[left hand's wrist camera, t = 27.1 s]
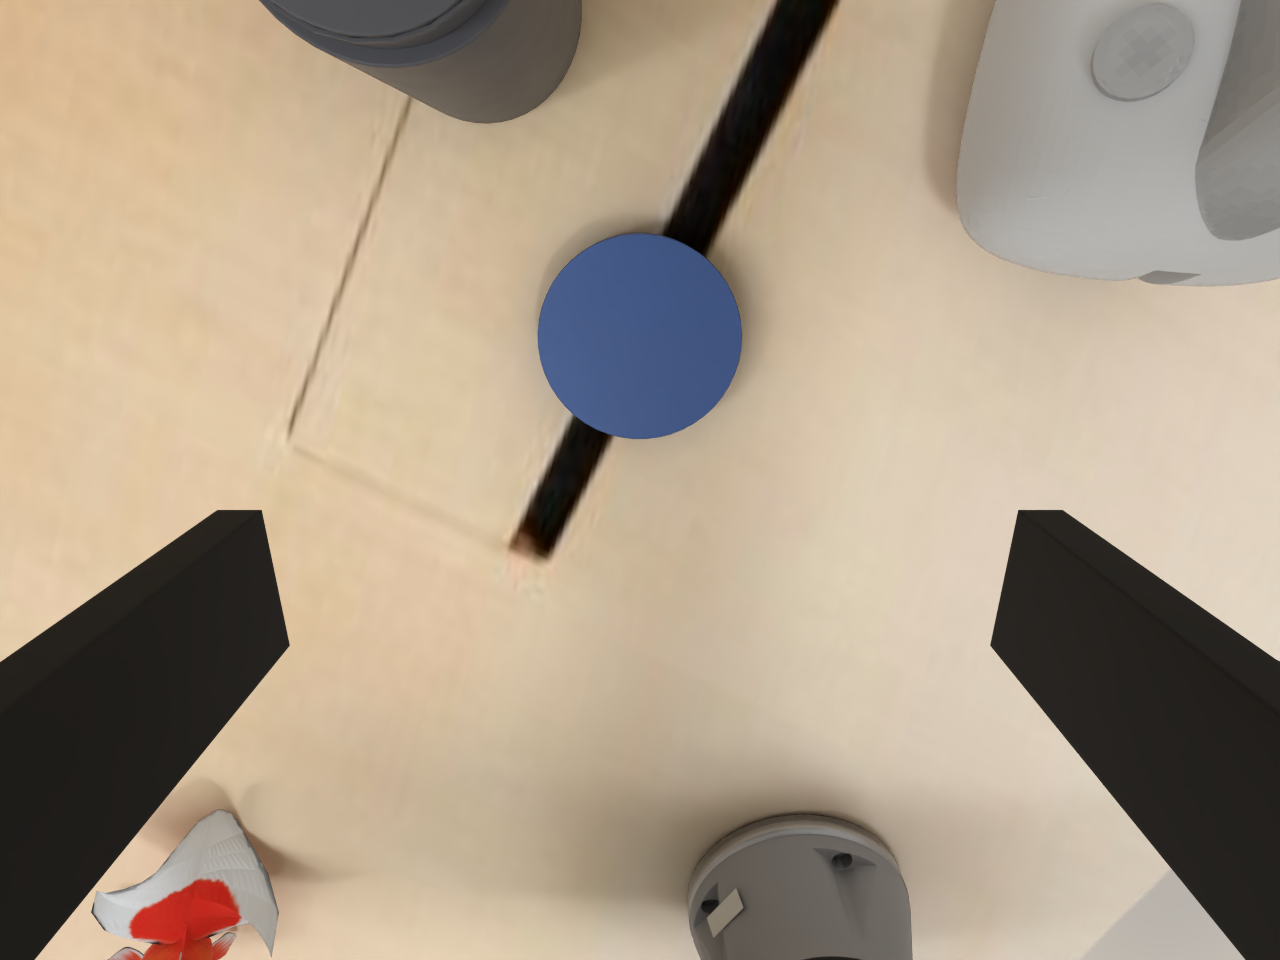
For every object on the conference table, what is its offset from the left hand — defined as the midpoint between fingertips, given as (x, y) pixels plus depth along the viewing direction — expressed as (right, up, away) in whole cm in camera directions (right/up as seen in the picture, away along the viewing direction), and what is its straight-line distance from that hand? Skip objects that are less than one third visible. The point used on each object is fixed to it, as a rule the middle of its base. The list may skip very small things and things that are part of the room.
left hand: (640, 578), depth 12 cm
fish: (-30, -26, +37) cm, 55 cm away
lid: (0, +9, +23) cm, 24 cm away
